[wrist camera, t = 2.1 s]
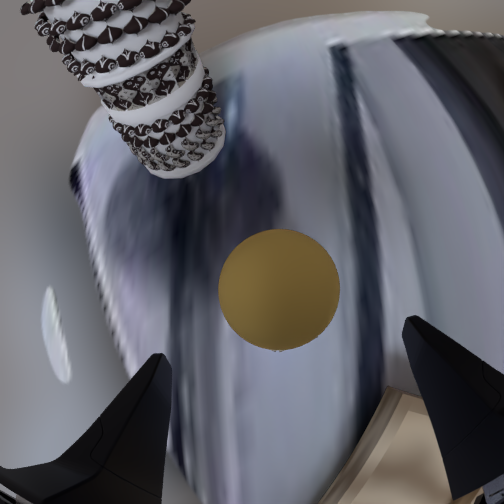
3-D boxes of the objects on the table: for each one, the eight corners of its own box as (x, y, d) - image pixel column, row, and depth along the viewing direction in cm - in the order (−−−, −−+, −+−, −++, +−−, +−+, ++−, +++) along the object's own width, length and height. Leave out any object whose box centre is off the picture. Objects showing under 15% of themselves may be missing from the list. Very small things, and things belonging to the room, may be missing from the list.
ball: (304, 361, 13) (317, 378, 8) (213, 320, 14) (180, 315, 9) (343, 270, 14) (371, 241, 9) (254, 233, 15) (242, 190, 10)
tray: (424, 539, 12) (434, 553, 9) (296, 528, 15) (297, 548, 12) (502, 417, 15) (520, 422, 12) (387, 385, 18) (403, 393, 15)
